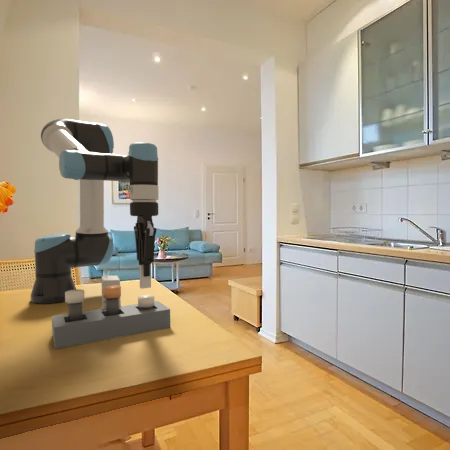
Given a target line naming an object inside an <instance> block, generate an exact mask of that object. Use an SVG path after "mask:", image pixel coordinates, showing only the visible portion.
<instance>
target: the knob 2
mask: <svg viewBox="0 0 450 450" xmlns="http://www.w3.org/2000/svg"><path fill="white" fill-rule="evenodd" d="M154 301H155V295H154V294H143V295H142V294H141V295H139V296H138V297H137V304H138V307H140V311H144V310H151V309H152V306H154V305H155V303H154Z"/></svg>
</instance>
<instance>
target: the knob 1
mask: <svg viewBox="0 0 450 450" xmlns="http://www.w3.org/2000/svg"><path fill="white" fill-rule="evenodd" d="M84 301H85V290H84V289H77V290H69V291H66V292H65V301H64V303H65V304H67V311H68V312H67V314H68V321H69V322H73V321H79V320H82V312H83V302H84Z"/></svg>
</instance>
